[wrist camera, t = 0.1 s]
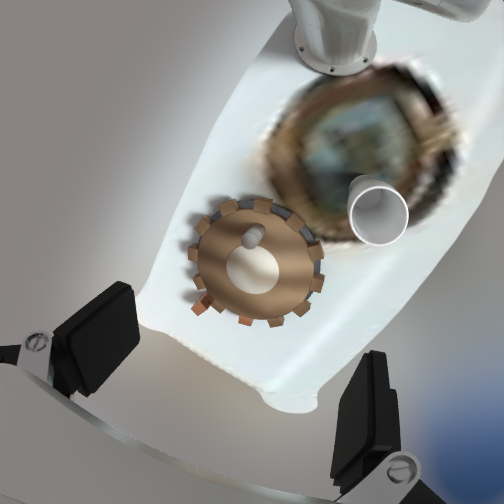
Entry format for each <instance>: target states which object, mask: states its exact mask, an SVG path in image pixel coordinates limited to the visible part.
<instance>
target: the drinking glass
mask: <svg viewBox="0 0 504 504" xmlns="http://www.w3.org/2000/svg"><path fill="white" fill-rule="evenodd" d="M347 214H348V219H349V223H350V226H351V228H352V230H353V232H354V234H355V235H356V236H357V237H358V238H359V239H360V240H361V241H363V242H364V243H366V244H369V245H372V246H385V245H388V244H391V243H393V242H394V241H396V240H397V239H398V238H399V237H400V236H401V235H402V234H403V232H404V231H405V229H406V226H407V223H408V208H407V205H406V202H405V201H404V199H403V197H402V196H401V195H400V194H399V193H398V191H397V190H396V189H395V188H394V187H392V186H391V185H390V184H388V183H386V182H384V181H382V180H379V179H376V178H374V177H373V176H370V175H360V176H358V177H356V178H355V179H354V180H353V181H352V182H351V184H350V186H349V196H348V201H347Z"/></svg>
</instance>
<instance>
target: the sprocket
mask: <svg viewBox="0 0 504 504" xmlns="http://www.w3.org/2000/svg"><path fill="white" fill-rule="evenodd" d="M272 202H273V199H268V198H263V197H257V198H256V199H255V201H254V208H242V209H240V208H239V206H238V203H237V201H236V199H232V200H229V201H227V202H224V203H222V204H220V205H219V206H218V207H219V209H220V212H221V214H222V217H221V218H219V219H218V220H216V221H215V222H214V221H213V220H211V219H210V218H209V217H208V216H207V215H206V216H205V217H203V218H202V219H201V220H200V222H199V223H198V225H197V226H196V227H195V230H196V231H197V232H199V233H200V234H201V235H202V236H203V237H202V239H201V241H200V244H199V245H198V244H194V243H193V244H192V245H191V246H190V247H189V248H188V260H191V261H195V262H198V269H199V273H198V274H196V275H195V277H194V278H193V281H194V283H195V285H196V287H197V289H198V290H200V289H204V288H206V289H207V290H208V291H209V293H210V294H211V295H212V296H213V298H214V299H215V300H214V301H213V303H212V304H211V305H210V306H212V307H213V308H214V309H215V310H216V311H218V312H219V313H221V312H222V311H223V310H224V309H225V308H226V309H228V310H230V311H231V312H233V313H235V314H237V315H239V321H238V323H240V324H243V325H247V326H251V324H252V322H253V320H254V319H258V320H267V321H268V323H269V326H270V328H271V327H277V326H283V323H284V317H283V316H284V315H286V314H288V313H290V312H292V311H293V312H294V313H295V314H297V315H298V316H299V317H302V316H303V315H304V314H305V313H306V312H307V311H309V310H310V305H311V303H310V302H309V301H307V300H306V299H305V298H306V296H307V294H308V293H309V290H310V291H314V292H318V293H321V290H322V286H323V283H324V277H325V275H323V274H319V273H315V272H314V261H317V260H321V259H324V252H323V249H322V246H321V243H320V240H319V241H315V242H311V243H308V241H307V240H306V238H305V236H304V235H303V234H302V232H301V231H300V229H301V228H302V227H303V226H304V225H305V224H306V221H307V220H305V219H304V218H303V217H302V216H301V215H300V214H299V213H297V212H296V211H294V212H293V213H292V214H291V215H290V216H289V217H288V219H287V218H285V217H283V216H282V215H280V214H278V213H275V212H273V211H271V209H272Z"/></svg>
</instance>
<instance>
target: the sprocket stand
mask: <svg viewBox="0 0 504 504" xmlns="http://www.w3.org/2000/svg"><path fill="white" fill-rule="evenodd" d="M254 201H255V200H246V201H240V202H237V203H238V206H239V208H240V209H242V208H254ZM271 211H273V212H275V213H278V214H280V215H282V216H283V217H285V218H287V219H288V217H289V216H290V215H291V214H292V213H293V212H291V211H290V210H288V209H286V208H285V207H283V206H280V205H278V204H275V203H272V209H271ZM221 217H222V214H221V212H220V211H219V212H217V213H216V214H215V215H214V216H213V217H212V218H211V220H213V221H214V222H215V221H216V220H218V219H219V218H221ZM300 231H301V232H302V234H303V235H304V236H305V238H306V240H307V241H308V243H311V242H315V241H316V240H315V238H314V236H313V234H312V232H311V231H310V229H309V228H308V227H307V225H306V224H305V225H304V226H303V227H302V228H301V229H300ZM202 237H203V236H202V235H201V236H200V240H199V244H200V241H201V239H202ZM320 265H321V260H317V261H314V272H315V273H319V274H320ZM312 293H313V291H310V290H309V293H308V294H307V296H306V298H305V299H306V300H307V299H308V298H309V297H310V296H311V294H312ZM214 300H215V299H214V298H213V296H212V295H211V294H210V293H209V291H208V292H207V293H206V294H204V295H203V296H201V297H200V298H199V299H198V300H197V302H196V303H195V304H194V305H193V306H192V308H191V309H192V311H193V312H194V313H195V314H196V315H197V316H199V315H200V314H201V313H203V312H204V311H206V310H207V309H208V308H209V306H210V305H211V304H212V302H213V301H214Z"/></svg>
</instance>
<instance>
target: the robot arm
mask: <svg viewBox="0 0 504 504" xmlns="http://www.w3.org/2000/svg"><path fill="white" fill-rule="evenodd" d="M288 1H289V3H290V5H291V8H292V11H293V13H294V16H295V18H296V21H297V25H296V27H295V30H294V44H295V47H296V50H297V52H298V53H299V55H300V57H301V58H302V59H303V60H304V62H305V63H307V64H308V65H309V66H310V67H311V68H313V69H315V70H317V71H318V72H321V73H324V74H327V75H331V76H350V75H353V74H357V73H359V72H361V71H363V70H364V69H365V68H366V67H368V66H369V64H370V63H371V62H372V60H373V59H374V57H375V54H376V51H377V40H376V36H375V33H374V31H373V27H374V24H375V21H376V18H377V15H378V12H379V9H380V5H381V0H288ZM394 1H398V2H401V3H404V4H407V5H411V6H414V7H417V8H419V9H422V10H425V11H428V12H431V13H433V14H436V15H439V16H441V17H444V18H447V19H450V20H453V21H458V22H472V21H474V20H477V19H478V18H480V17H481V16H482V15H483V14H484V12H485V11H486V10H487V8H488V6H489V4H490V2H491V0H394ZM302 49H303V50H304V51H301V50H302ZM364 60H366V61H367V62H366V63H365V62H364ZM330 70H334V71H333V72H331V71H330ZM53 334H54V336H53V337H51V335H50V334H49V333H48V332H45V331H40V330H39V331H34V332H31V333H29V334H28V335H27V336H26V337H25V338H24V339H23V342H22V344H21V345H11V346H0V504H446V503H445V502H444V501H443V500H442V499H441V498H440V497H439V496H437V495H436V494H435V493H434V492H433V491H432V490H431V489H430V488H428V487H427V486H426V485H425V484H424V483H423V482H422V481H421V480H420V479H419V477H420V474H421V466H420V463H419V461H418V459H417V458H416V457H415V456H414V455H412V454H410V453H408V452H404V451H401V440H400V423H399V410H398V399H397V393H396V390H395V389H390V385H389V375H388V366H387V358H386V354H385V353H384V352H379V351H374V350H371V351H370V352H369V353H364V355H363V356H362V359H361V361H360V363H359V365H358V367H357V368H356V370H355V372H354V374H353V376H352V378H351V380H350V382H349V384H348V386H347V387H346V389H345V391H344V393H343V395H342V397H341V399H340V403H339V409H338V419H337V429H336V438H335V445H334V453H333V460H332V466H331V473H330V478H332V479H334V483H333V485H334V486H341V487H340V493H341V494H342V495H341V496H339V497H338V498H337V499H336V500H334V501H330V500H324V499H319V498H313V497H308V496H303V495H297V494H292V493H287V492H283V491H278V490H273V489H269V488H265V487H261V486H257V485H253V484H250V483H246V482H242V481H239V480H236V479H232V478H229V477H225V476H223V475H220V474H216V473H214V472H211V471H208V470H205V469H202V468H200V467H197V466H194V465H192V464H189V463H187V462H184V461H182V460H179V459H177V458H175V457H172V456H170V455H168V454H165V453H163V452H160V451H159V450H157V449H154V448H152V447H150V446H148V445H146V444H144V443H142V442H140V441H138V440H136V439H134V438H132V437H130V436H129V435H127V434H125V433H123V432H121V431H119V430H118V429H116V428H114V427H112V426H111V425H109V424H107V423H106V422H104V421H102V420H100V419H99V418H97V417H95V416H94V415H92V414H91V413H89V412H88V411H86V410H85V409H83V408H82V407H80V406H79V405H77V404H76V403H74V392H75V391H76V390H78V392H79V393H81V394H82V395H84V396H85V397H88V396H89V395H90V394H91V393H95V392H96V391H97V390H98V388H99V387H100V386H101V385H102V384H103V383H104V382H105V380H106V379H107V378H108V377H109V376H110V375H111V374H112V373H113V372H114V370H115V369H116V368H117V367H118V366H119V365H120V364H121V362H122V361H123V360H124V359H125V358H126V357H127V356H128V355H129V354H130V353H131V351H132V350H133V349H134V348H135V347H136V346H137V345H138V343H139V341H140V333H139V327H138V320H137V312H136V304H135V296H134V291H133V290H132V288H131V285H129V284H126V283H124V282H121V281H117V282H115V283H114V284H113V285H111V286H110V287H109V288H107V289H106V290H105V291H103V292H102V293H101V294H99V295H98V296H97V297H96V298H94V299H93V300H92V301H90V302H89V303H88V304H86V305H85V306H84V307H83V308H81V309H80V310H79V311H78V312H76V313H75V314H74V315H73V316H71V317H70V318H69V319H68V320H66V321H65V322H64V323H63V324H61V325H60V326H59V327H58V328H56V329H55V330H54V331H53Z"/></svg>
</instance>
